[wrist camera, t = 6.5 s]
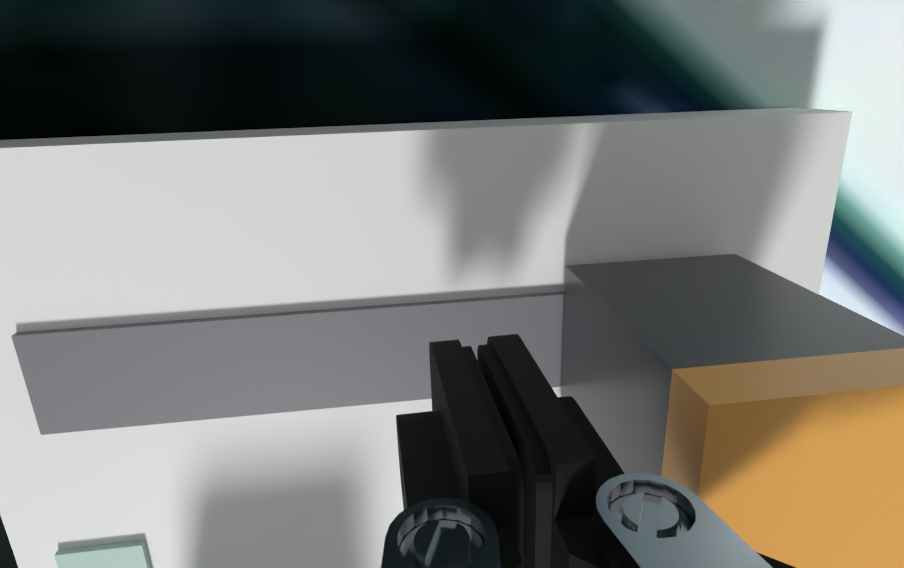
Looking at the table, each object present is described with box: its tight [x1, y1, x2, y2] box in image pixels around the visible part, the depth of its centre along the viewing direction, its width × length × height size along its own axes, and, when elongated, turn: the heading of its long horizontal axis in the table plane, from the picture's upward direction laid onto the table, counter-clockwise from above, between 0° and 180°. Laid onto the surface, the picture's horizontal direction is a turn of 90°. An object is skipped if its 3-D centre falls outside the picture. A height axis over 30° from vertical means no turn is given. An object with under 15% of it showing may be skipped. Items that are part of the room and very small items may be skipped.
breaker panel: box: [0, 107, 852, 568], centre depth 17 cm, size 20×20×2 cm
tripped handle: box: [561, 254, 904, 568], centre depth 11 cm, size 4×4×6 cm
